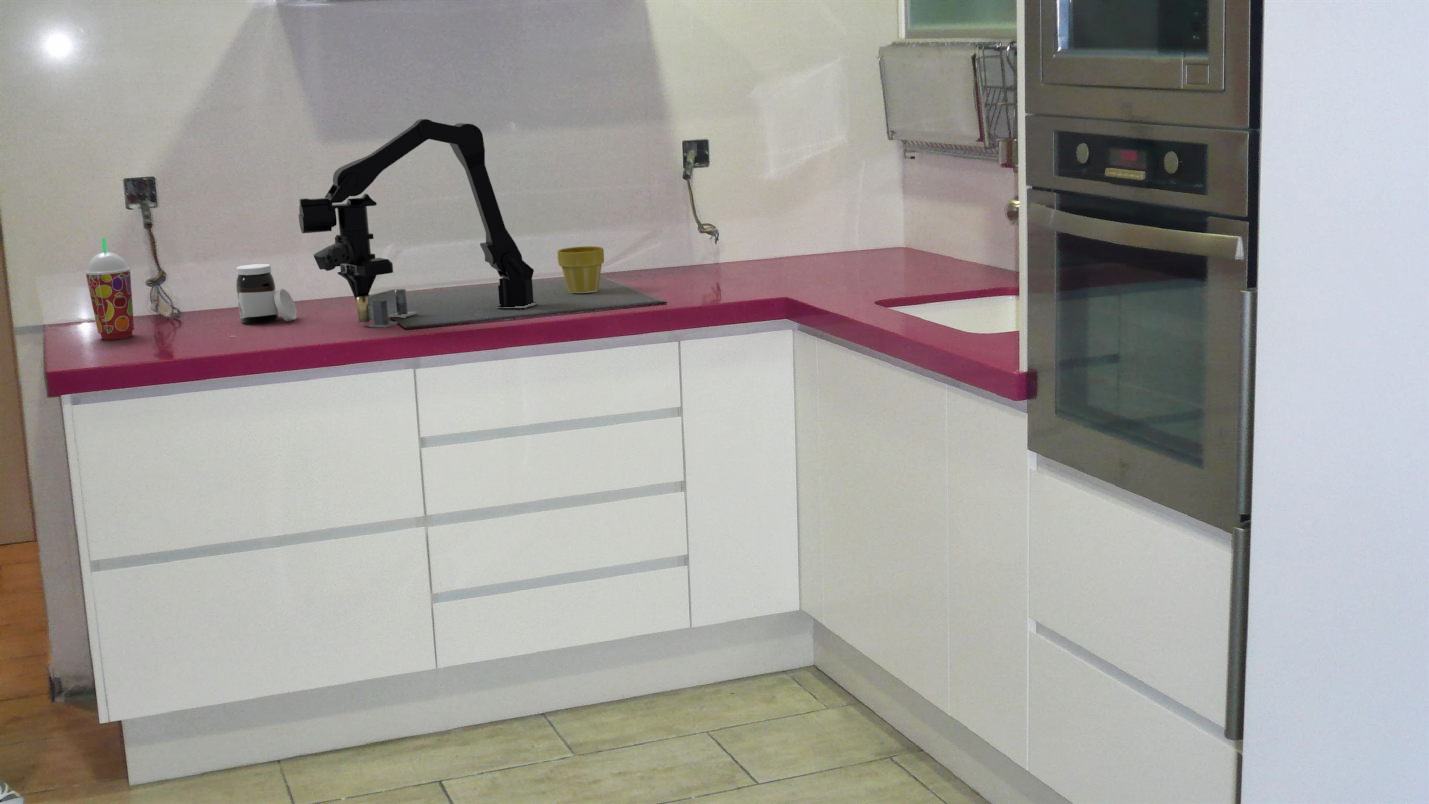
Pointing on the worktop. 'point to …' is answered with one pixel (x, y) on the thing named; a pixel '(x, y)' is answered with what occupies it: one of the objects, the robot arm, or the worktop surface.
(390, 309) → the gate
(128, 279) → the smoothie
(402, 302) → the hinge post
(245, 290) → the spread jar
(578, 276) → the plant pot
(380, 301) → the post
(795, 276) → the worktop surface
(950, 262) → the worktop surface
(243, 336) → the worktop surface
